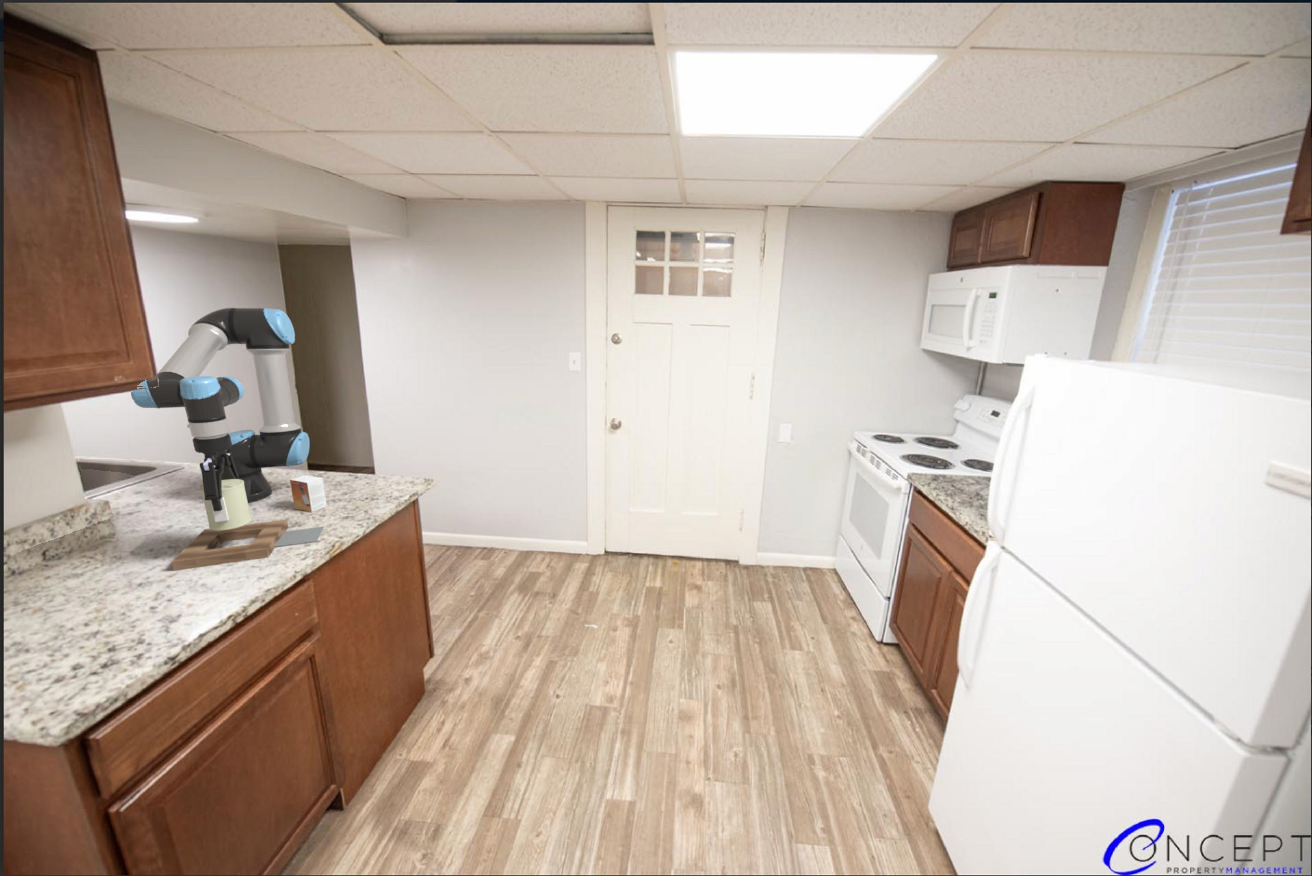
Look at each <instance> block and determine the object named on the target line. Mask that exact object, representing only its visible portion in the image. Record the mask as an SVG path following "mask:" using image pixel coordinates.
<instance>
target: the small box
mask: <svg viewBox="0 0 1312 876" xmlns="http://www.w3.org/2000/svg"><path fill="white" fill-rule="evenodd" d="M289 483H290V488H291V493H292V494H291V495H292V501H293V506H294V507H293V508H294V509H295V510H297V509H298V510H301V511H305V512H309V513H313V512H316V511H318V510H321V509H324V508H327V506H328V505H327V499H326V491H325V484H324V478H323V477H319V476H312V475H308V474H305V475H300V476H297V477H295V478H291V479H289Z"/></svg>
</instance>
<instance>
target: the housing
mask: <svg viewBox="0 0 1312 876" xmlns="http://www.w3.org/2000/svg"><path fill="white" fill-rule="evenodd" d="M288 529H289V524H288V520H287V519H282V520H281V519H280V520H275V521H274V520H273V521H266V522H265V521H263V522H256V523H248V524H246V525H244V526H241V527H238V528H234V529H230V530H222V531H215V530H211V529H210V528H206V529H204V530H202V531H201V532H200V533H199V534H198V535H196V537H195V538H194V539H193V540H192V541H190V543H189V544H188V545H187V546H186V547H185V548H184V549H183V550H182V551H181V552H180V553H179V554H178V555H176V557H175V558H174V559H173V560H172V561H171V565H172V566H171V567H172V571H175V572H176V571H182V570H188V569H190V570H191V569H195V568H196V569H197V568H203V567H208V566H217V565H223V564H231V563H238V562H245V561H251V560H252V561H253V560H258V559H266V558H269V557H270V556H271V554H272V552H273V551H274V549H276V547H275V545H276V543H277V542H278V540H279V539H280V537H281V536H282V534H283V533H284V531H288ZM252 538H254V540H253V541H252V542H251V543H250V544H242V545H235V546H228V547H221V548H219V547H218V548H216V547H217V546H218V545H219V544H220V543H222V542H230V541H238V540H245V539H246V540H247V539H252Z"/></svg>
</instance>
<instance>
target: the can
mask: <svg viewBox="0 0 1312 876" xmlns="http://www.w3.org/2000/svg"><path fill="white" fill-rule="evenodd" d="M221 481H222V497H224V500H225V504H226V508H227V513H228V517H229V520H228V521H219V522H215V518H214V514H213V510H212V506H211V502H210V500H205V495H204V487H203V485H202V486H200V488H199V490H200V492H201V497H202V500H203V504H204V509H205V512H206V516H207V521H208V527H209V528H208V529H211V530H215V531H222V530H230V529H234V528H238V527H241V526H244V525H247V524H250V523H251V522H252V520H253V517H252V515H251V511H250V510H251V509H250V507H249V503H248V501H247V496H246V492H245V487H244V481H243V480H240V479H227V480H221Z"/></svg>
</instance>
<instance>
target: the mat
mask: <svg viewBox="0 0 1312 876" xmlns="http://www.w3.org/2000/svg"><path fill="white" fill-rule="evenodd" d="M324 528H325V527H324V526H319V527H316V526H315V527H309V528H301V529H292V530H286V531H284V533H283V534H282V536H281V537H280V539H279V540H278V542H277V543H276V545H275V548H281V547H289V546H296V545H304V544H310V543H317V542H318V540H319V538H320V536H321V533H322V532H323V530H324Z"/></svg>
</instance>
